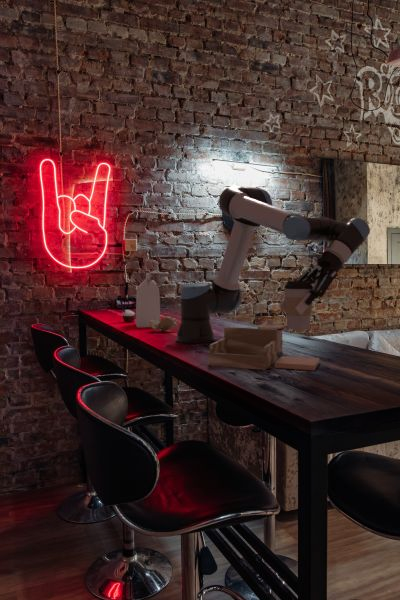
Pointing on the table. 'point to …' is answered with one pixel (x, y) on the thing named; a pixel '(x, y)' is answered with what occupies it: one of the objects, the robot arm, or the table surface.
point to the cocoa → (128, 314)
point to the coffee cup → (292, 298)
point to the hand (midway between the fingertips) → (289, 310)
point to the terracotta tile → (297, 363)
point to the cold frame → (245, 348)
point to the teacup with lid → (273, 325)
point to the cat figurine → (163, 324)
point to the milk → (147, 303)
